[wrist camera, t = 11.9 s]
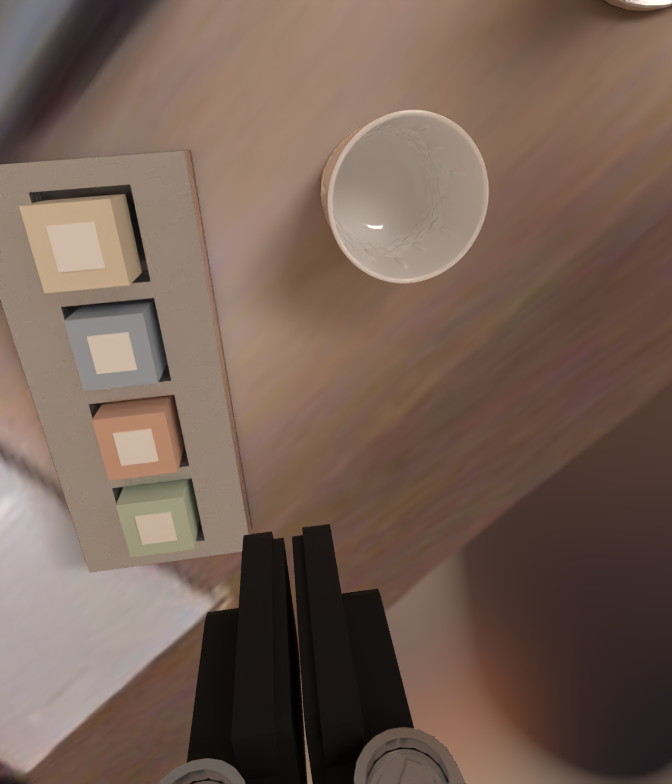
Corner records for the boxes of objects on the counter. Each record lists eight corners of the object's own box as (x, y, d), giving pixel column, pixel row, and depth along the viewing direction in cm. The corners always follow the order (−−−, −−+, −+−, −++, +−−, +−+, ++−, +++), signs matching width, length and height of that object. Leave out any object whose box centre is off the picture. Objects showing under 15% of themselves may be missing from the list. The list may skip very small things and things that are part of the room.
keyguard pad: (190, 150, 33) (184, 150, 31) (251, 525, 45) (251, 550, 42) (-17, 166, 32) (-43, 167, 30) (100, 546, 44) (89, 572, 41)
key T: (153, 298, 36) (142, 313, 32) (167, 363, 37) (158, 383, 34) (81, 305, 35) (63, 321, 32) (99, 370, 37) (83, 392, 34)
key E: (189, 470, 41) (182, 497, 38) (199, 519, 43) (194, 549, 39) (127, 477, 41) (115, 506, 37) (140, 527, 42) (130, 558, 39)
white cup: (319, 258, 37) (338, 294, 28) (302, 129, 34) (316, 122, 24) (434, 241, 37) (489, 271, 28) (428, 111, 34) (488, 98, 25)
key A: (172, 390, 38) (164, 412, 35) (184, 446, 40) (177, 472, 37) (106, 397, 38) (91, 421, 35) (121, 454, 40) (108, 481, 36)
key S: (125, 193, 32) (109, 199, 28) (142, 272, 33) (129, 285, 30) (43, 200, 31) (18, 206, 28) (65, 279, 33) (43, 293, 30)
